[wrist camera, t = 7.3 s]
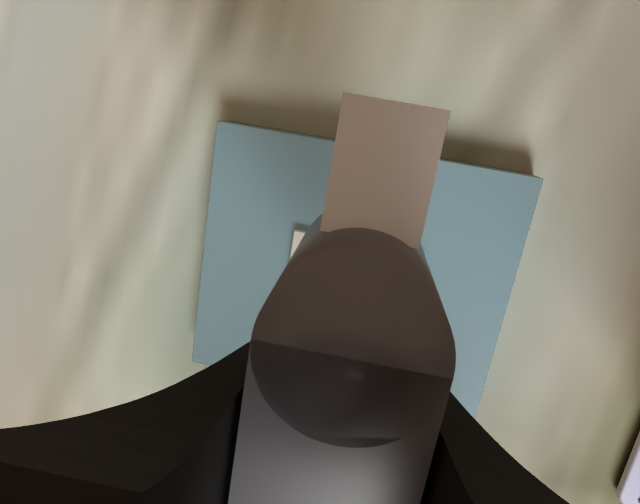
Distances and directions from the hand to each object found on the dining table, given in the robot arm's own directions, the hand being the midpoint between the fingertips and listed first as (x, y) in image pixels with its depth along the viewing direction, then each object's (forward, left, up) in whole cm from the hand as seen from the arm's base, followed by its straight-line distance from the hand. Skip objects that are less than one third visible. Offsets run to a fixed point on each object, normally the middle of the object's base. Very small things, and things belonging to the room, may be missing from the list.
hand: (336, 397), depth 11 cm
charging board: (0, 0, -10) cm, 10 cm away
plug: (0, -1, -2) cm, 2 cm away
